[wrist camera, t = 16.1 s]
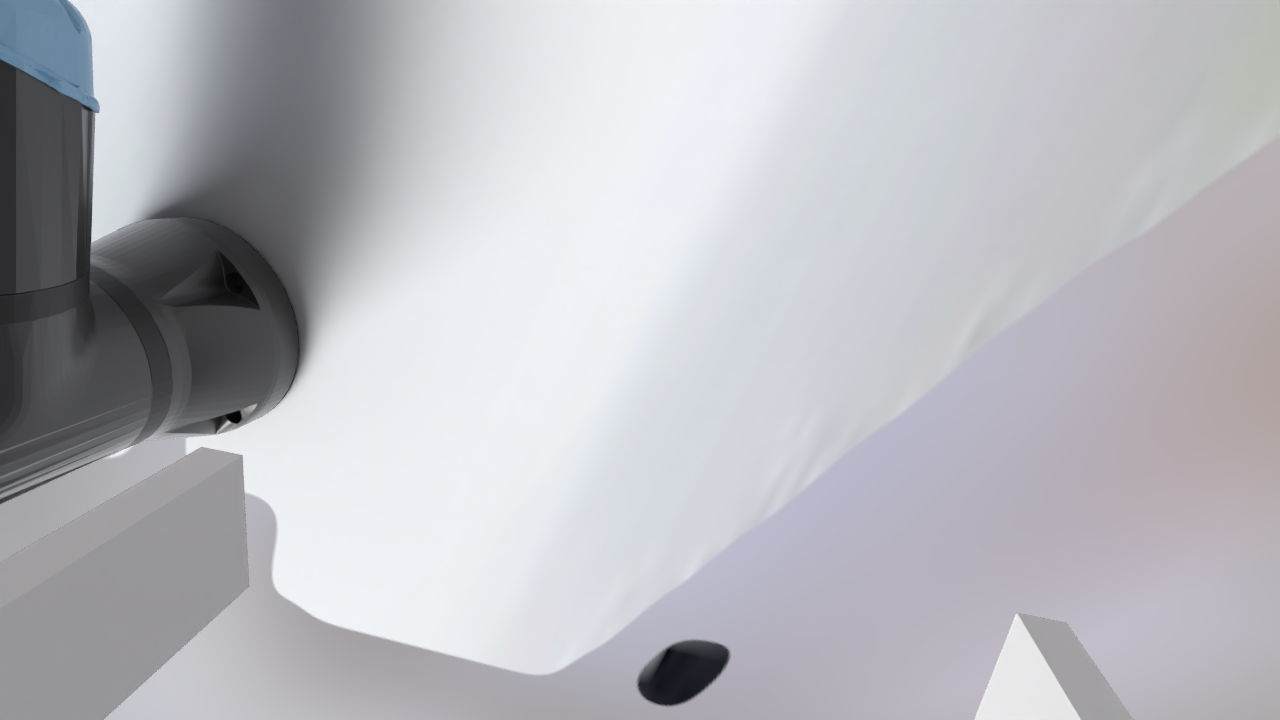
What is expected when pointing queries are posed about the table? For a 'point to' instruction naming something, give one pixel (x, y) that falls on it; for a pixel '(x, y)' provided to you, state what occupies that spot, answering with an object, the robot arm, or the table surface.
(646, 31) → the table surface
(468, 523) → the table surface
